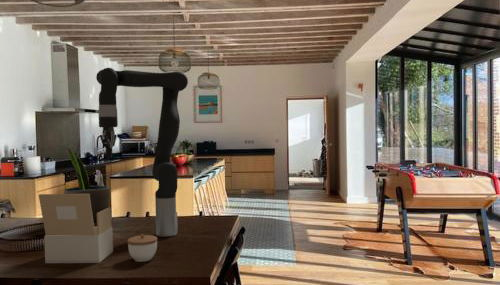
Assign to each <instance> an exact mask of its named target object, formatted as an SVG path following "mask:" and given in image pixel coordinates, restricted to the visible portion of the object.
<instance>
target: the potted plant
mask: <svg viewBox="0 0 500 285" xmlns="http://www.w3.org/2000/svg"><path fill="white" fill-rule="evenodd" d="M66 149H67V150H68V155H69V157H70V158H69V159H70V161H71V163H72V166H73V167H74V169H75V174H76V178H77V183H78V186H76V187H70V188H66V189H64V193H63V194H90V201H91V208H92V215H93V222H94V226H97V213H98V212H100V211H102V210H104V209H106V208H108V207H110V200H111V199H110V197H111V186H107V185H90V181H89V177H88V176H89V175H88V174H89V172H87V169H86V167H85V165H84V163H83V162H82V159H80V157H79V155H78V153H77V152H76V151H75V152H73V151H72V150H71V149H70V148H66ZM74 154H75V155H74Z"/></svg>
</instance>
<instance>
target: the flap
mask: <svg viewBox="0 0 500 285" xmlns="http://www.w3.org/2000/svg"><path fill="white" fill-rule="evenodd" d="M38 200H39V205H40V211H41V212H40V213H41V217H42V221H43V226H44V232H45V235H46V236H57V235H95V229H94V222H93V215H92V208H91V201H90V194H64V193H39V194H38Z"/></svg>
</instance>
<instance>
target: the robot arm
mask: <svg viewBox="0 0 500 285" xmlns="http://www.w3.org/2000/svg"><path fill="white" fill-rule="evenodd" d="M95 79H96V81H97V83H98V84H99V85H100V91H99V93H98V127H99V128H102V134H100V135H99V138H100V140H101V144H102V146H103V148H105V157H106V158H112V157H113V148H114V147H115V144H116V141H117V137H118V136H117V134H115V133H116V132H115V128H117V127H118V126H119V125H118V106H117V91H118V90H117V89H118V87H130V88H131V87H132V88H156V87H157V88H162V102H161V110H160V118H159V124H158V132H157V142H156V151H155V157H154V160H153V165H152V171H151V172H152V173H151V174H152V177H153V179H154V180H155V181H157V182H158V188H157V190H156V191H155V193H154V195H155V197H154V199H155V201H154V202H155V204H154V205H155V232H156V233H155V236H156V237H173V236H176V235H177V234H178V230H179V229H178V228H179V227H178V212H177V200H176V196H177V190H178V175H179V174H178V169H177V167H176V165H175V164H173V163H171V155H172V151H173V148H174V146H175V144H176V142H177V140H178V138H179V137H178V136H179V133H180V132H179V131H180V124H181V123H180V122H181V119H180V114H179V109H178V97H179V92H181V91H183V90H185V89H186V88H187V87H188V84H189V80H188V77H187V75H186V74H185V73H184V72H181V71H178V70H177V71H176V70H175V71H171V72H153V71H152V72H150V71H140V70H129V69H128V70H127V69H124V70H115V69H114V68H112V67H105V68H103V69H101V70H99V71H98V72H97V73H96V76H95Z"/></svg>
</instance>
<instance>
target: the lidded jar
mask: <svg viewBox="0 0 500 285" xmlns="http://www.w3.org/2000/svg"><path fill="white" fill-rule="evenodd" d="M127 248H128V250H127V251H128V253H129V256H130V257H131V258H132V259H133V260H134V261H135V262H138V263H139V262H140V263H142V262H143V263H144V262H147V261H148V262H149V261H151V260H152V258H153V257H154V256H155V255H156V252H157V250H158V249H157V248H158V236H157V235H152V234H151V235H150V234H147V235H146V234H144V233H141V234H140V235H134V236H132V237H130V238H128V239H127Z"/></svg>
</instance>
